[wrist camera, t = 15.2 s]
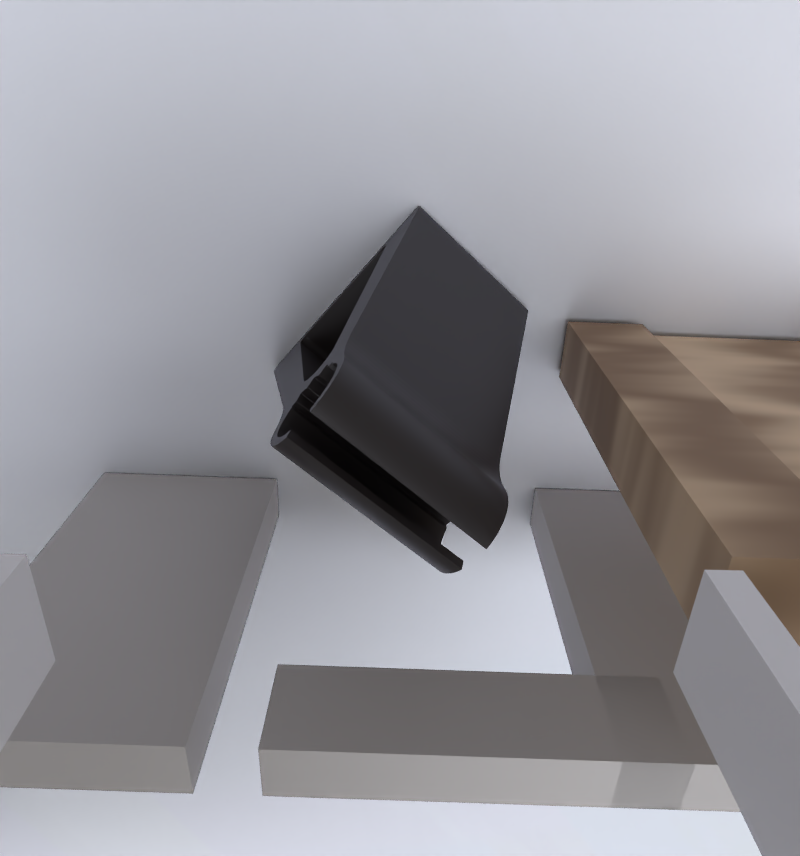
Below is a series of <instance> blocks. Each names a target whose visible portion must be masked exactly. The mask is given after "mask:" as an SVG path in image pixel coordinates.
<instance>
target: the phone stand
mask: <svg viewBox="0 0 800 856" xmlns="http://www.w3.org/2000/svg"><path fill="white" fill-rule="evenodd" d="M527 314H528V310H527V309H526V308H525V307H524V306H523V305H522V304H521V303H520V302H519V301H518V300H517V299H516V298H514V297H513V296H512V295H511V294H510V293H509V292H508V291H507V290H506V289H505V288H504V287H503V286H502V285H501V284H500V283H499V282H498V281H497V280H496V279H495V278H494V277H493V276H492V275H490V274H489V273H488V272H487V271H486V270H485V269H484V268H483V267H482V266H481V265H480V264H479V263H478V262H477V261H476V260H475V259H474V258H473V257H472V256H471V255H470V254H469V253H468V252H467V251H465V250H464V249H463V248H462V247H461V246H460V245H459V244H458V243H457V242H456V241H455V240H454V239H453V238H452V237H451V236H450V235H449V234H448V233H447V232H446V231H445V230H444V229H443V228H442V227H440V226H439V225H438V224H437V223H436V222H435V221H434V220H433V219H432V218H431V217H430V216H429V215H428V214H427V213H426V212H425V211H424V210H423V209H422V208H421V207H420V206H418V207H417V208H416V209H415V210H414V211H413V212H412V213H411V215H410V216H409V217H408V218H407V219H406V220H405V221H404V223H403V224H402V225H401V226H400V227H399V228H398V229H397V231H396V232H395V233H394V234H393V235H392V236H391V237H390V238H389V240H388V241H387V242H386V243H385V244H384V245H383V246H382V248H381V249H380V250H379V251H378V252H377V253H376V254H375V256H374V257H373V258H372V259H371V260H370V261H369V262H368V263H367V265H366V266H365V267H364V268H363V269H362V270H361V271H360V273H359V274H358V275H357V276H356V277H355V278H354V279H353V280H352V282H351V283H350V284H349V285H348V286H347V287H346V289H345V290H344V291H343V293H342V294H340V295H339V296H338V298H337V299H336V300H335V301H334V302H333V303H332V304H331V305H330V307H329V308H328V309H327V310H326V311H325V312H324V313H323V315H322V316H321V317H320V318H319V319H318V320H317V321H316V322H315V324H314V325H313V326H312V327H311V328H310V329H309V330H308V332H307V333H306V334H305V335H304V336H303V337H302V338H301V340H300V341H299V342H298V343H297V344H296V345H295V346H294V347H293V349H292V350H291V351H290V352H289V353H288V354H287V355H286V357H285V358H284V359H283V360H282V361H281V362H280V363H279V365H278V366H277V367H276V369H275V370H274V373H275V377H276V381H277V385H278V388H279V392H280V396H281V400H282V404H283V414H282V417H281V419H280V422H279V424H278V426H277V428H276V430H275V432H274V434H273V436H272V439H271V443H270V444H271V446H272V447H273V448H275V449H276V450H278V451H279V452H280V453H282V454H283V455H284V456H286V457H287V458H288V459H290V460H291V461H292V462H294V463H295V464H296V465H298V466H299V467H300V468H302V469H303V470H304V471H306V472H307V473H308V474H310V475H311V476H312V477H314V478H315V479H316V480H318V481H319V482H321V483H322V484H323V485H325V486H326V487H327V488H329V489H330V490H331V491H333V492H334V493H335V494H337V495H338V496H339V497H341V498H342V499H343V500H345V501H346V502H347V503H349V504H350V505H351V506H353V507H354V508H355V509H357V510H358V511H360V512H361V513H362V514H364V515H365V516H366V517H368V518H369V519H370V520H372V521H373V522H374V523H376V524H377V525H378V526H380V527H381V528H382V529H384V530H385V531H386V532H388V533H389V534H390V535H392V536H393V537H394V538H396V539H397V540H398V541H400V542H401V543H403V544H404V545H405V546H407V547H408V548H409V549H411V550H412V551H413V552H415V553H416V554H417V555H419V556H420V557H421V558H423V559H424V560H425V561H427V562H428V563H429V564H431V565H432V566H433V567H435V568H436V569H437V570H439V571H440V572H442V573H454V572H457V571H459V570H462V566H463V560H461V559H460V558H459V557H457V556H456V555H455V554H453V553H452V552H451V551H449V550H448V549H447V548H445V547H444V546H443V545H442V544H441V541H442V538H443V535H444V533H445V531H446V529H447V527H446V525H447V524H448V523H449V522H450V521H451V522H452V523H453V524H455V525H456V526H457V527H459V528H460V529H461V530H462V531H464V532H465V533H466V534H468V535H469V536H470V537H471V538H473V539H474V540H475V541H477V542H478V543H479V544H480V545H482V546H483V547H484V548H486V549H487V548H488V546H489V545H490V544H491V543H492V541H493V540H494V538H495V537H496V535H497V533H498V532H499V530H500V528H501V526H502V524H503V521H504V519H505V516H506V513H507V508H508V495H507V492H506V490H505V488H504V487H503V485H502V482H501V479H500V473H499V464H500V457H501V452H502V446H503V441H504V436H505V430H506V425H507V420H508V415H509V409H510V404H511V399H512V393H513V388H514V383H515V378H516V372H517V367H518V362H519V356H520V351H521V346H522V341H523V335H524V330H525V325H526V319H527Z"/></svg>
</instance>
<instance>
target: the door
mask: <svg viewBox="0 0 800 856" xmlns="http://www.w3.org/2000/svg"><path fill="white" fill-rule="evenodd" d="M559 378H560V379H561V381H562V383H563V385H564V387H565V389H566V391H567V393H568V394H569V396H570V398H571V400H572V402H573V404H574V406H575V408H576V410H577V411H578V413H579V415H580V417H581V419H582V421H583V423H584V425H585V426H586V428H587V430H588V432H589V434H590V436H591V438H592V440H593V442H594V443H595V445H596V447H597V449H598V451H599V453H600V455H601V457H602V458H603V460H604V462H605V464H606V466H607V468H608V470H609V472H610V474H611V475H612V477H613V479H614V481H615V483H616V485H617V487H618V489H619V490H620V492H621V494H622V496H623V498H624V500H625V502H626V504H627V506H628V507H629V509H630V511H631V513H632V515H633V517H634V519H635V521H636V522H637V524H638V526H639V528H640V530H641V532H642V534H643V536H644V538H645V539H646V541H647V543H648V545H649V547H650V549H651V551H652V553H653V554H654V556H655V558H656V560H657V562H658V564H659V566H660V568H661V570H662V571H663V573H664V575H665V577H666V579H667V581H668V583H669V585H670V586H671V588H672V590H673V592H674V594H675V596H676V598H677V600H678V602H679V603H680V605H681V607H682V609H683V611H684V613H685V615H686V617H687V618H688V620H689V618H690V615H691V612H692V609H693V605H694V602H695V599H696V595H697V592H698V589H699V586H700V582H701V579H702V576H703V572H704V570H743V571H744V572H745V574H746V575H747V576H748V578H749V579H750V580H751V582H752V583H753V584H754V586H755V587H756V589H757V590H758V591H759V593H760V594H761V595H762V597H763V598H764V599H765V601H766V602H767V603H768V605H769V606H770V607H771V609H772V610H773V611H774V613H775V614H776V616H777V617H778V618H779V620H780V621H781V622H782V624H783V625H784V626H785V628H786V629H787V630H788V632H789V633H790V634H791V636H792V637H793V639H794V640H795V641H796V643H797V644H798V645H799V647H800V341H787V340H760V339H733V338H706V337H679V336H654V335H653V334H652V333H651V332H650V331H649V330H648V329H647V328H646V327H645V326H644V325H643V324H620V323H593V322H568V324H567V330H566V337H565V343H564V349H563V356H562V362H561V369H560V375H559Z"/></svg>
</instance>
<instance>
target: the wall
mask: <svg viewBox="0 0 800 856" xmlns="http://www.w3.org/2000/svg"><path fill="white" fill-rule="evenodd" d="M278 517H279V505H278V488H277V479H263V478H235V477H207V476H179V475H151V474H124V473H104V474H103V475H102V476H101V477H100V479H99V480H98V481H97V482H96V483H95V485H94V486H93V487H92V488H91V490H90V491H89V492H88V493H87V495H86V496H85V497H84V498H83V500H82V501H81V502H80V503H79V505H78V506H77V507H76V508H75V510H74V511H73V512H72V513H71V515H70V516H69V517H68V518H67V520H66V521H65V522H64V523H63V524H62V526H61V527H60V528H59V529H58V531H57V532H56V533H55V534H54V536H53V537H52V538H51V539H50V541H49V542H48V543H47V544H46V546H45V547H44V548H43V549H42V551H41V552H40V553H39V554H38V556H37V557H36V558H35V559H34V561H33V562H32V563H31V564H30V569H31V573H32V576H33V580H34V584H35V587H36V591H37V595H38V598H39V602H40V606H41V609H42V613H43V616H44V620H45V624H46V627H47V631H48V635H49V638H50V642H51V646H52V649H53V653H54V657H55V660H56V661H55V662H54V664H53V666H52V667H51V669H50V671H49V672H48V674H47V676H46V677H45V679H44V681H43V682H42V684H41V686H40V687H39V689H38V691H37V692H36V694H35V696H34V697H33V699H32V701H31V702H30V704H29V706H28V707H27V709H26V711H25V712H24V714H23V716H22V717H21V719H20V721H19V722H18V724H17V725H16V727H15V729H14V730H13V732H12V734H11V735H10V737H9V739H8V740H7V742H6V744H5V745H4V747H3V749H2V750H1V752H0V787H13V788H43V789H72V790H102V791H132V792H162V793H191V794H193V792H194V789H195V786H196V782H197V779H198V776H199V773H200V769H201V766H202V763H203V760H204V756H205V753H206V750H207V747H208V743H209V740H210V737H211V734H212V730H213V727H214V724H215V721H216V718H217V714H218V711H219V708H220V705H221V701H222V698H223V695H224V692H225V688H226V685H227V682H228V679H229V675H230V672H231V669H232V666H233V662H234V659H235V656H236V653H237V649H238V646H239V643H240V640H241V637H242V633H243V630H244V627H245V624H246V620H247V617H248V614H249V611H250V607H251V604H252V601H253V598H254V594H255V591H256V588H257V585H258V581H259V578H260V575H261V572H262V568H263V565H264V562H265V559H266V556H267V552H268V549H269V546H270V543H271V539H272V536H273V533H274V530H275V526H276V523H277V520H278ZM530 526H531V529H532V533H533V536H534V540H535V543H536V547H537V550H538V554H539V557H540V561H541V565H542V568H543V572H544V575H545V579H546V582H547V586H548V589H549V593H550V597H551V600H552V604H553V607H554V611H555V614H556V618H557V621H558V625H559V628H560V632H561V636H562V639H563V643H564V646H565V650H566V653H567V657H568V660H569V664H570V667H571V671H572V675H571V674H542V673H513V672H484V671H455V670H426V669H397V668H368V667H339V666H310V665H281V664H278V666H277V670H276V674H275V679H274V683H273V688H272V692H271V696H270V701H269V705H268V709H267V714H266V718H265V722H264V727H263V731H262V735H261V740H260V744H259V748H258V752H259V762H260V773H261V783H262V794H263V796H281V797H311V798H340V799H370V800H400V801H430V802H459V803H489V804H519V805H549V806H579V807H608V808H638V809H668V810H698V811H727V812H741V811H740V809H739V807H738V805H737V803H736V801H735V799H734V797H733V795H732V793H731V791H730V789H729V786H728V784H727V782H726V780H725V778H724V776H723V774H722V772H721V770H720V768H719V766H718V764H717V762H716V760H715V758H714V756H713V754H712V751H711V749H710V747H709V745H708V743H707V741H706V739H705V737H704V735H703V733H702V731H701V729H700V727H699V725H698V723H697V721H696V719H695V717H694V714H693V712H692V710H691V708H690V706H689V704H688V702H687V700H686V698H685V696H684V694H683V692H682V690H681V688H680V686H679V684H678V682H677V679H676V677H675V675H674V673H673V671H674V668H675V664H676V661H677V658H678V655H679V651H680V648H681V645H682V641H683V638H684V635H685V632H686V628H687V625H688V622H689V620H688V618H687V617H686V615H685V613H684V611H683V609H682V607H681V605H680V603H679V602H678V600H677V598H676V596H675V594H674V592H673V590H672V588H671V586H670V585H669V583H668V581H667V579H666V577H665V575H664V573H663V571H662V570H661V568H660V566H659V564H658V562H657V560H656V558H655V556H654V554H653V553H652V551H651V549H650V547H649V545H648V543H647V541H646V539H645V538H644V536H643V534H642V532H641V530H640V528H639V526H638V524H637V522H636V521H635V519H634V517H633V515H632V513H631V511H630V509H629V507H628V506H627V504H626V502H625V500H624V498H623V496H622V494H621V492H620V491H596V490H569V489H541V488H535V494H534V501H533V507H532V514H531V521H530Z"/></svg>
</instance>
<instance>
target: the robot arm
mask: <svg viewBox="0 0 800 856" xmlns="http://www.w3.org/2000/svg"><path fill="white" fill-rule="evenodd" d="M55 661H56V660H55V657H54V653H53V649H52V646H51V642H50V638H49V635H48V631H47V627H46V624H45V620H44V616H43V613H42V609H41V606H40V602H39V598H38V595H37V591H36V587H35V584H34V580H33V576H32V573H31V569H30V565H29V562H28V558H27V554H0V752H1V750H2V749H3V747H4V745H5V744H6V742H7V740H8V739H9V737H10V735H11V734H12V732H13V730H14V729H15V727H16V725H17V724H18V722H19V721H20V719H21V717H22V716H23V714H24V712H25V711H26V709H27V707H28V706H29V704H30V702H31V701H32V699H33V697H34V696H35V694H36V692H37V691H38V689H39V687H40V686H41V684H42V682H43V681H44V679H45V677H46V676H47V674H48V672H49V671H50V669H51V667H52V666H53V664H54V662H55ZM673 673H674V675H675V677H676V679H677V682H678V684H679V686H680V688H681V690H682V692H683V694H684V696H685V698H686V700H687V702H688V704H689V706H690V708H691V710H692V712H693V714H694V717H695V719H696V721H697V723H698V725H699V727H700V729H701V731H702V733H703V735H704V737H705V739H706V741H707V743H708V745H709V747H710V749H711V751H712V754H713V756H714V758H715V760H716V762H717V764H718V766H719V768H720V770H721V772H722V774H723V776H724V778H725V780H726V782H727V784H728V786H729V789H730V791H731V793H732V795H733V797H734V799H735V801H736V803H737V805H738V807H739V809H740V811H741V813H742V815H743V817H744V819H745V821H746V823H747V826H748V828H749V830H750V832H751V834H752V836H753V838H754V840H755V842H756V844H757V846H758V848H759V850H760V852H761V854H762V856H800V647H799V645H798V644H797V643H796V641H795V640H794V639H793V637H792V636H791V634H790V633H789V632H788V630H787V629H786V628H785V626H784V625H783V624H782V622H781V621H780V620H779V618H778V617H777V616H776V614H775V613H774V611H773V610H772V609H771V607H770V606H769V605H768V603H767V602H766V601H765V599H764V598H763V597H762V595H761V594H760V593H759V591H758V590H757V589H756V587H755V586H754V584H753V583H752V582H751V580H750V579H749V578H748V576H747V575H746V574H745V572H744V571H743V570H704V572H703V576H702V579H701V582H700V586H699V589H698V592H697V595H696V599H695V602H694V605H693V609H692V612H691V615H690V618H689V622H688V625H687V628H686V632H685V635H684V638H683V641H682V645H681V648H680V651H679V655H678V658H677V661H676V664H675V668H674V671H673Z"/></svg>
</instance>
